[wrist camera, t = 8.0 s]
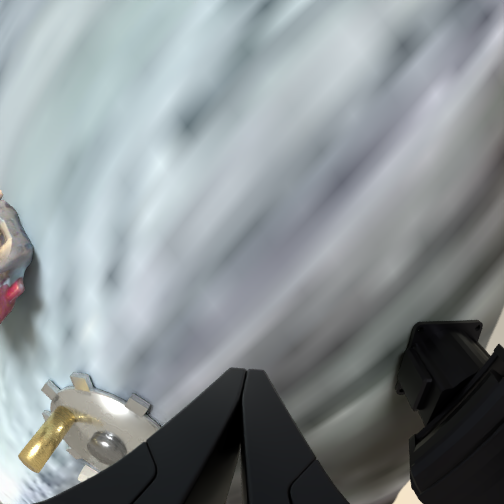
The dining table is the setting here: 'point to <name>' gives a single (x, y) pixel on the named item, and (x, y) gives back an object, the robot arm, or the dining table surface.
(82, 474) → the block
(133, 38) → the dining table surface
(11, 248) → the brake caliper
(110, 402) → the sprocket
